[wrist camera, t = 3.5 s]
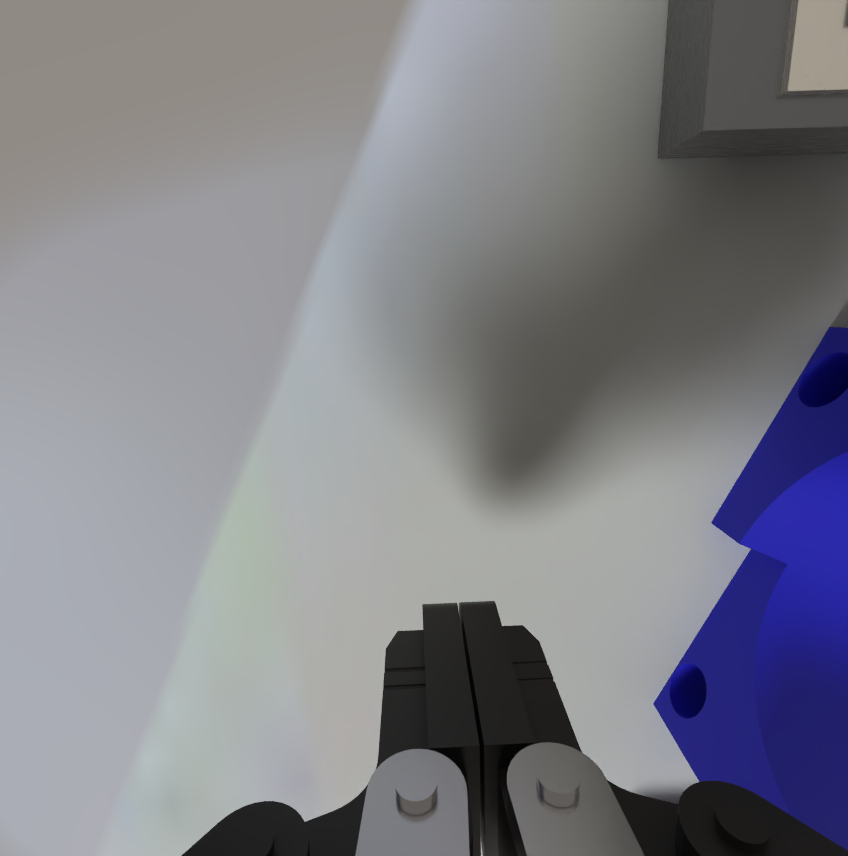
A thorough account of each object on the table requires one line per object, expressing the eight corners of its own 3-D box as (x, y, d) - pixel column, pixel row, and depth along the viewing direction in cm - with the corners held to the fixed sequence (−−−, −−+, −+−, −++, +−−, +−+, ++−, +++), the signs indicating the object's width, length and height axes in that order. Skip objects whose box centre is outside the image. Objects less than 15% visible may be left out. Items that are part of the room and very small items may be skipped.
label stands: (1116, -51, 11) (1286, -138, 9) (889, 896, 18) (956, 980, 16) (671, -38, 11) (733, -123, 9) (606, 907, 18) (632, 993, 16)
